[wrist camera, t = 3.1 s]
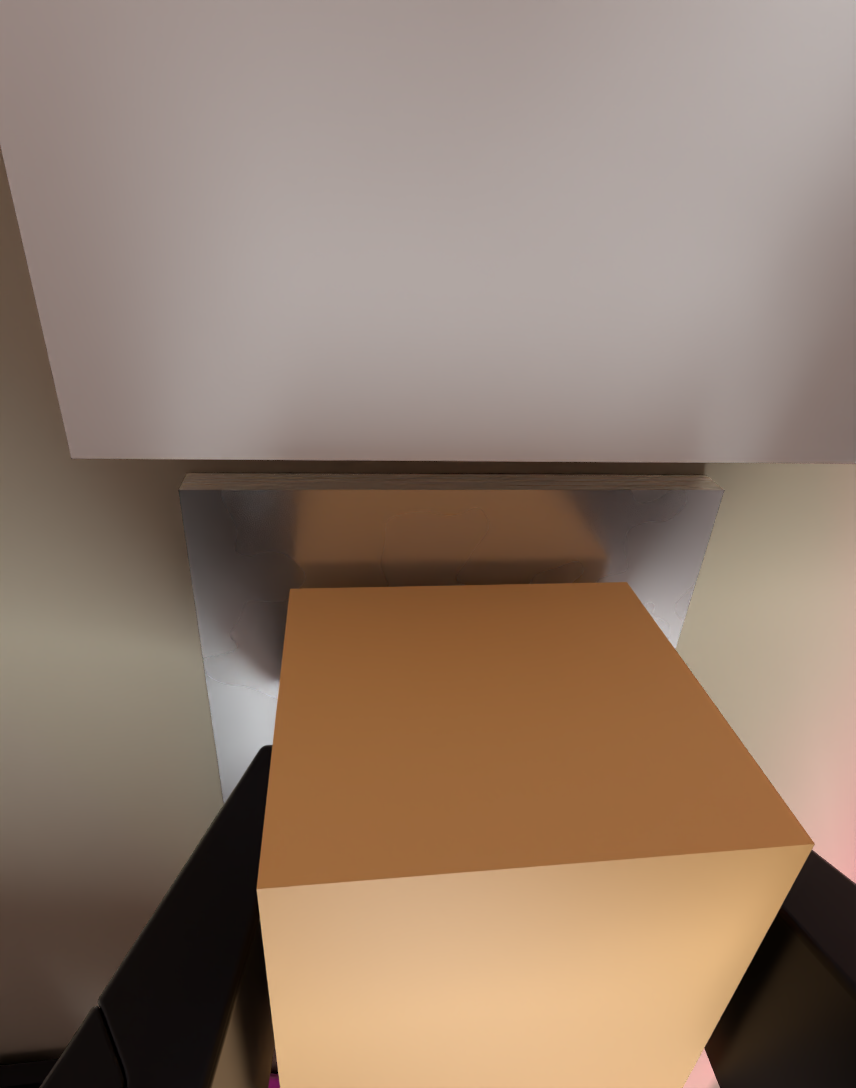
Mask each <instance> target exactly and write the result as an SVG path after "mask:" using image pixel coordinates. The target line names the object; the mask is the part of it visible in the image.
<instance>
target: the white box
mask: <svg viewBox="0 0 856 1088" xmlns="http://www.w3.org/2000/svg"><path fill="white" fill-rule="evenodd" d="M0 146H1V151H2V155H3V160H4V164H5V168H6V173H7V177H8V182H9V186H10V190H11V195H12V199H13V204H14V208H15V212H16V217H17V221H18V226H19V230H20V234H21V239H22V243H23V248H24V252H25V257H26V261H27V265H28V270H29V274H30V279H31V283H32V287H33V292H34V296H35V301H36V305H37V309H38V314H39V318H40V323H41V327H42V331H43V336H44V340H45V345H46V349H47V353H48V358H49V362H50V367H51V371H52V375H53V380H54V384H55V389H56V393H57V397H58V402H59V406H60V411H61V415H62V419H63V424H64V428H65V433H66V437H67V441H68V446H69V450H70V455H71V459H214V460H368V461H522V462H676V463H830V464H856V0H0Z"/></svg>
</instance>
